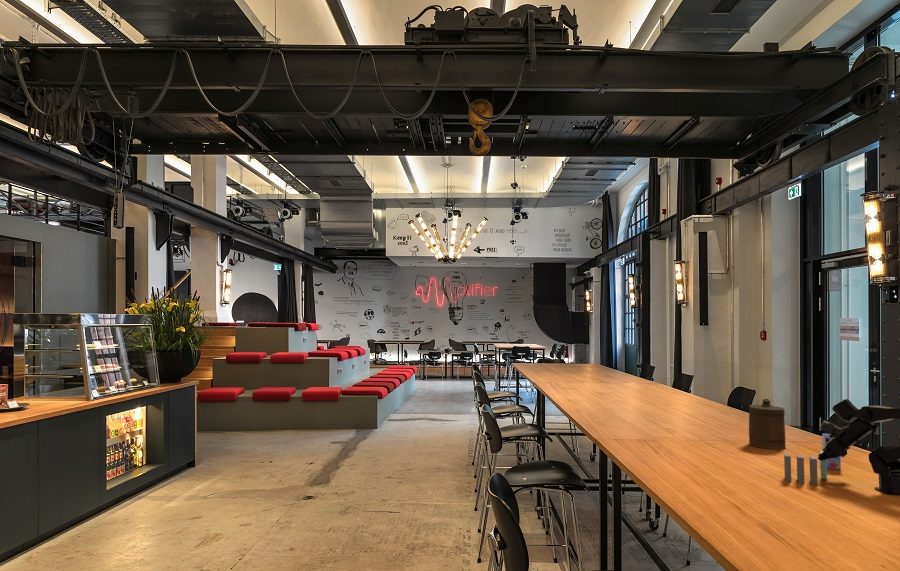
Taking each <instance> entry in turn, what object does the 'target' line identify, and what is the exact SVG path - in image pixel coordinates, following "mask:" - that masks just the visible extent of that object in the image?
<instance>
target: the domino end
mask: <svg viewBox="0 0 900 571" xmlns="http://www.w3.org/2000/svg"><path fill="white" fill-rule="evenodd" d="M783 464H784V465H783V466H784V467H783V468H784V479H785V482H792V456H791V454H790V453H785V452H784V453H783Z"/></svg>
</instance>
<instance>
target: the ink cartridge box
mask: <svg viewBox="0 0 900 571" xmlns="http://www.w3.org/2000/svg"><path fill="white" fill-rule="evenodd" d="M821 435H822V436H821V451H822V450H823V449H824V447H825V446H826V445H827V438H829V439H831V437H829V435H830V433H821ZM841 459H842V458H841V457H835V458H830V459H827V469H833V470H839V471H841V468H842V467H841V465H842V464H841Z"/></svg>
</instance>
